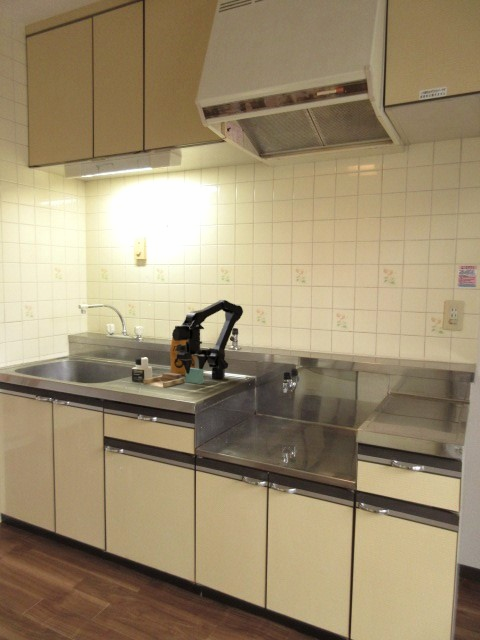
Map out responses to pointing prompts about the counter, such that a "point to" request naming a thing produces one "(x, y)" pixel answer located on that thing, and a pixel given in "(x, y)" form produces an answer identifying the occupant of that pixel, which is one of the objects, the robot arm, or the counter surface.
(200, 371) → the teal rectangular block
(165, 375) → the offcut top
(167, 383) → the wooden tray
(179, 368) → the coffee package
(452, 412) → the counter surface
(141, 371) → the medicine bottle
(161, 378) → the offcut low
